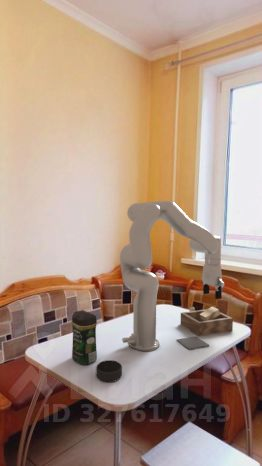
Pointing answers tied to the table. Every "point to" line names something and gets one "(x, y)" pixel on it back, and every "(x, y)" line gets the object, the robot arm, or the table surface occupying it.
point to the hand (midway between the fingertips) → (212, 296)
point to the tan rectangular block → (210, 314)
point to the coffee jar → (84, 337)
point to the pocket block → (206, 323)
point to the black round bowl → (109, 371)
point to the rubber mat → (192, 342)
